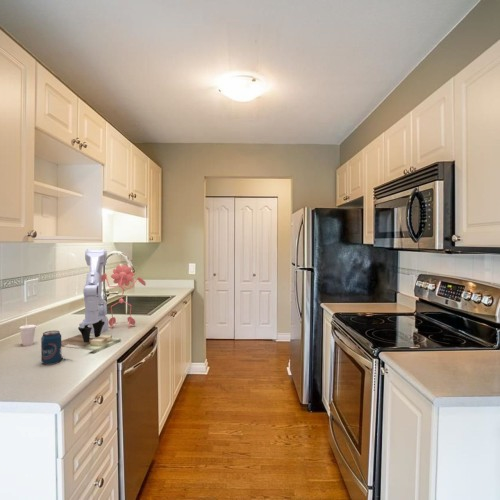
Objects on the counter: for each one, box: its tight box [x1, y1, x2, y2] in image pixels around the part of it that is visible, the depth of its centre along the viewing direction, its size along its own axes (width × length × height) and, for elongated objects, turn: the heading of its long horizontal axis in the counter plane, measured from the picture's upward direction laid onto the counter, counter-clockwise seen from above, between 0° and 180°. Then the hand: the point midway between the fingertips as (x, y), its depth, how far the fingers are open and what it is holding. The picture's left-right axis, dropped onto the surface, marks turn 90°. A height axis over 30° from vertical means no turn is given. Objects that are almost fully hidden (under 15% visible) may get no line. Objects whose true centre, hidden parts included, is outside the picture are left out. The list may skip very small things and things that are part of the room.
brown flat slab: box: [61, 333, 122, 355], centre depth 157 cm, size 18×24×2 cm
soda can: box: [40, 330, 63, 366], centre depth 134 cm, size 7×7×12 cm
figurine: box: [101, 264, 147, 330], centre depth 192 cm, size 15×26×35 cm, turn 98°
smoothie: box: [19, 316, 37, 347], centre depth 152 cm, size 6×6×14 cm
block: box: [90, 334, 113, 347], centre depth 154 cm, size 9×5×2 cm, turn 172°
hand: (92, 339), depth 156 cm, fingers open, 7 cm apart
